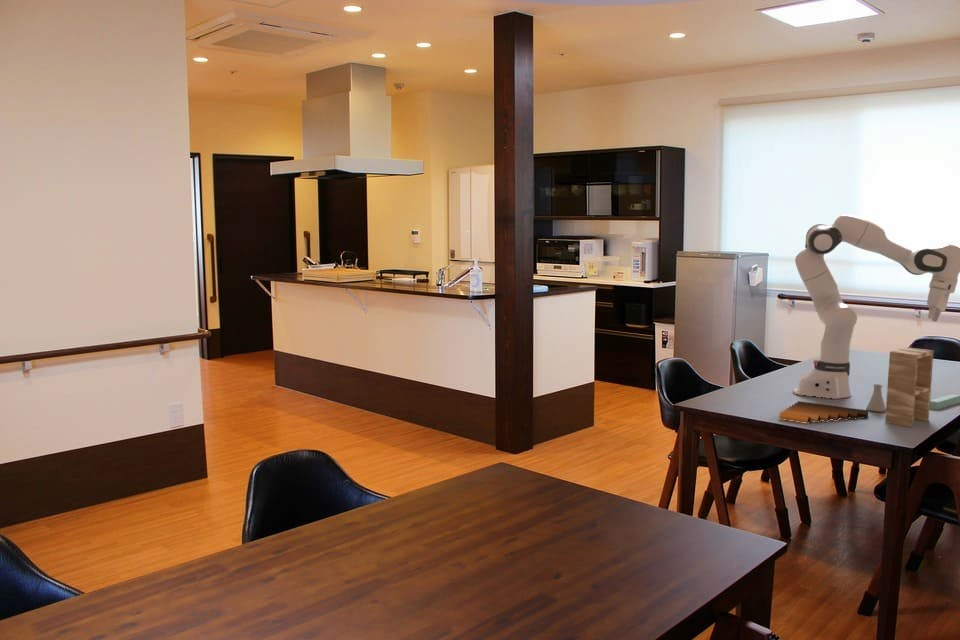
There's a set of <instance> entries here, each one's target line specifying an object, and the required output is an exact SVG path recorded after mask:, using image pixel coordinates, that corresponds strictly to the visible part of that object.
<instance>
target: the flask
mask: <svg viewBox="0 0 960 640" xmlns="http://www.w3.org/2000/svg"><path fill="white" fill-rule="evenodd" d="M882 387H883V384H878V383H874V384H873V392H872V395H871V398H870V400H869V402H868V403H867V406H866V408H865V409H866V410H868V411H870V412H876V413H884V412H885V413H886V405H885V404H886V403H885V402H884V398H883V395H882V393H883V392H882Z"/></svg>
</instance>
